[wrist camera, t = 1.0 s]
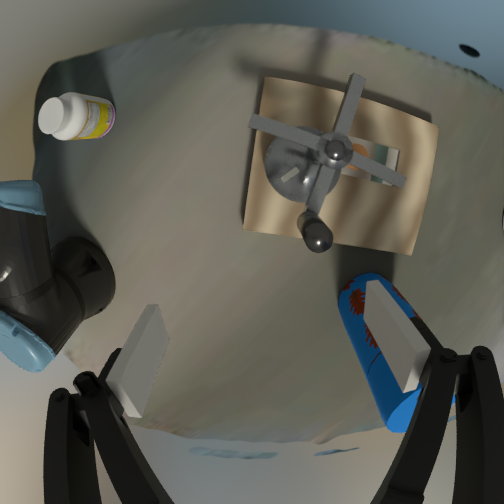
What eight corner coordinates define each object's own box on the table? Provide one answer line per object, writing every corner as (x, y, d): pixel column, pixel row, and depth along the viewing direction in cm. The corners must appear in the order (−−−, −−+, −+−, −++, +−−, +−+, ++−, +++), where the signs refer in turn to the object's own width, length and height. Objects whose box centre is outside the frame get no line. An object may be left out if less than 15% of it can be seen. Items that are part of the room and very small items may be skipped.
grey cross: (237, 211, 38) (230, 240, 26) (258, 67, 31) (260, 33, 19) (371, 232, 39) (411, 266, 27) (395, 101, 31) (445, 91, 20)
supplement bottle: (77, 121, 35) (26, 121, 23) (102, 91, 33) (53, 79, 21) (98, 146, 37) (48, 152, 25) (124, 115, 35) (77, 109, 23)
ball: (337, 165, 35) (345, 167, 32) (341, 140, 34) (349, 140, 31) (360, 171, 36) (370, 174, 32) (364, 146, 34) (375, 147, 31)
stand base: (243, 225, 41) (242, 230, 39) (264, 79, 33) (265, 75, 31) (405, 251, 43) (411, 255, 40) (432, 127, 35) (439, 126, 32)
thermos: (367, 260, 43) (447, 361, 20) (402, 291, 46) (474, 385, 22) (324, 306, 47) (367, 426, 23) (362, 332, 49) (410, 437, 26)
